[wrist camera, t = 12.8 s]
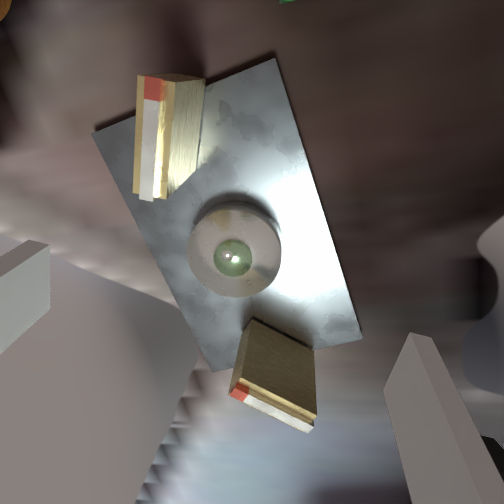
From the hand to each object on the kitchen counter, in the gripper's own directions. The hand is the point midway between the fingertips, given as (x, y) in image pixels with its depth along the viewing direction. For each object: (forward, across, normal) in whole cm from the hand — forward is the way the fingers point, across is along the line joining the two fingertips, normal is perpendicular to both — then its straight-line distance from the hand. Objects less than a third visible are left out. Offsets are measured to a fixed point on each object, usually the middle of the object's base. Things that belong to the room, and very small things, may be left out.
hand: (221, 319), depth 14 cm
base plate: (+21, +1, +6) cm, 22 cm away
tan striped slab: (+20, +7, -3) cm, 21 cm away
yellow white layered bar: (+20, -5, +15) cm, 26 cm away
